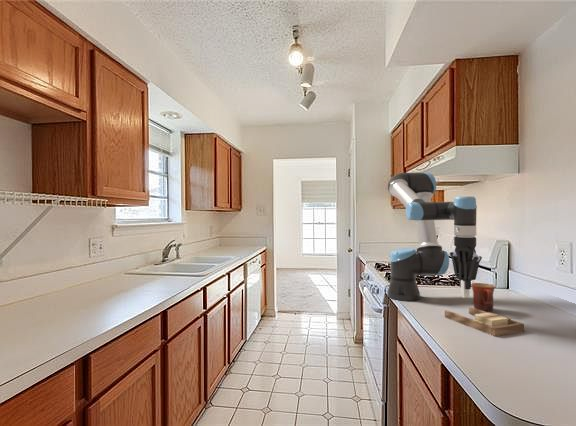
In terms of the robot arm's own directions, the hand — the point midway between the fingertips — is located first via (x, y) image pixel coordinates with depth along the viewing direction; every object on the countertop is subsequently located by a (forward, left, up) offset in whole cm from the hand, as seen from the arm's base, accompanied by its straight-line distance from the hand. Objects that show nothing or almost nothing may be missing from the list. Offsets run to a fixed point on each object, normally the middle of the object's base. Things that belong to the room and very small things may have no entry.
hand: (465, 296), depth 123 cm
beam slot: (+7, 0, -8) cm, 10 cm away
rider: (+11, 0, -8) cm, 14 cm away
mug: (-4, +15, -8) cm, 17 cm away
